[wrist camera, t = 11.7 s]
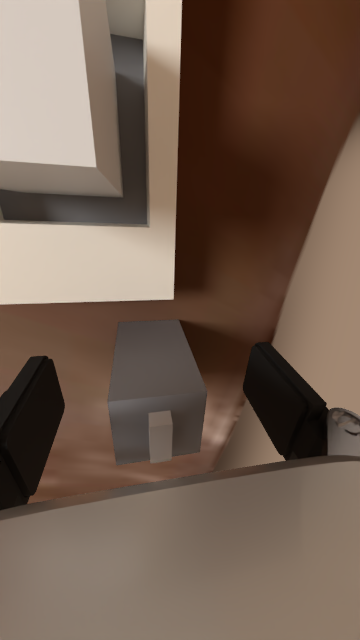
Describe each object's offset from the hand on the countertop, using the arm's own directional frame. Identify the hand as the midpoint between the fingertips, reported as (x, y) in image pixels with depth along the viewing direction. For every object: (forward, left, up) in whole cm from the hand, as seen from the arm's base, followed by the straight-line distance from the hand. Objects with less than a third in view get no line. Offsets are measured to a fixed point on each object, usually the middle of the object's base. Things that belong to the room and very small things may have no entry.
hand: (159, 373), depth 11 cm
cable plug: (-1, 0, -3) cm, 3 cm away
